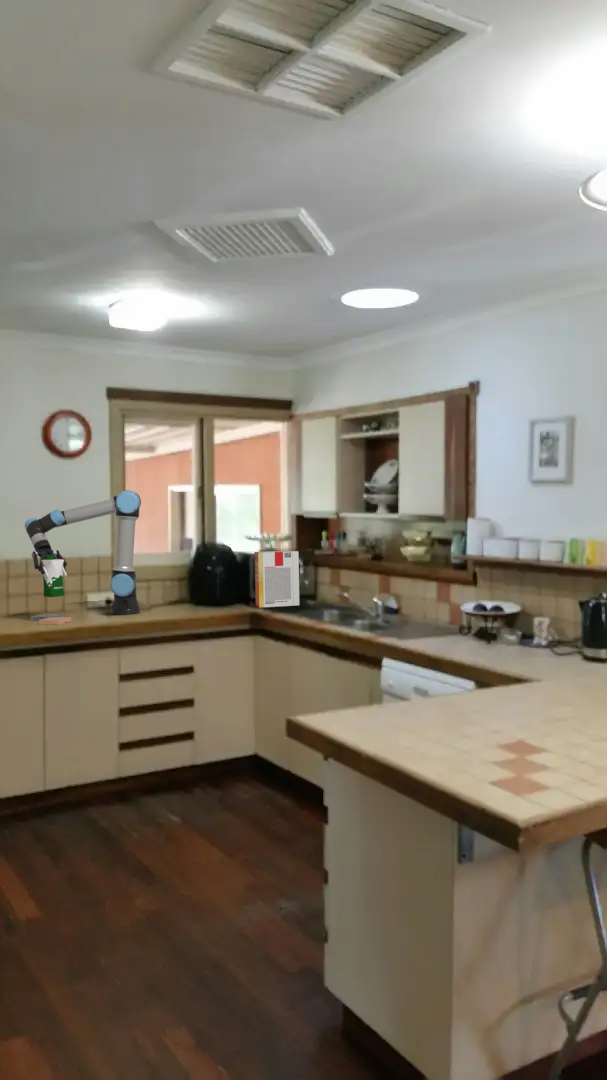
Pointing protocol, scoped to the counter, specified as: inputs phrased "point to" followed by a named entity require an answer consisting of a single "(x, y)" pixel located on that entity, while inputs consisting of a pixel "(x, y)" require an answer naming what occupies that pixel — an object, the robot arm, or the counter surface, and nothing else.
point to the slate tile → (44, 616)
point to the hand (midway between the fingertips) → (56, 577)
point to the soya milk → (53, 577)
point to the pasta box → (277, 578)
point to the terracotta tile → (55, 620)
